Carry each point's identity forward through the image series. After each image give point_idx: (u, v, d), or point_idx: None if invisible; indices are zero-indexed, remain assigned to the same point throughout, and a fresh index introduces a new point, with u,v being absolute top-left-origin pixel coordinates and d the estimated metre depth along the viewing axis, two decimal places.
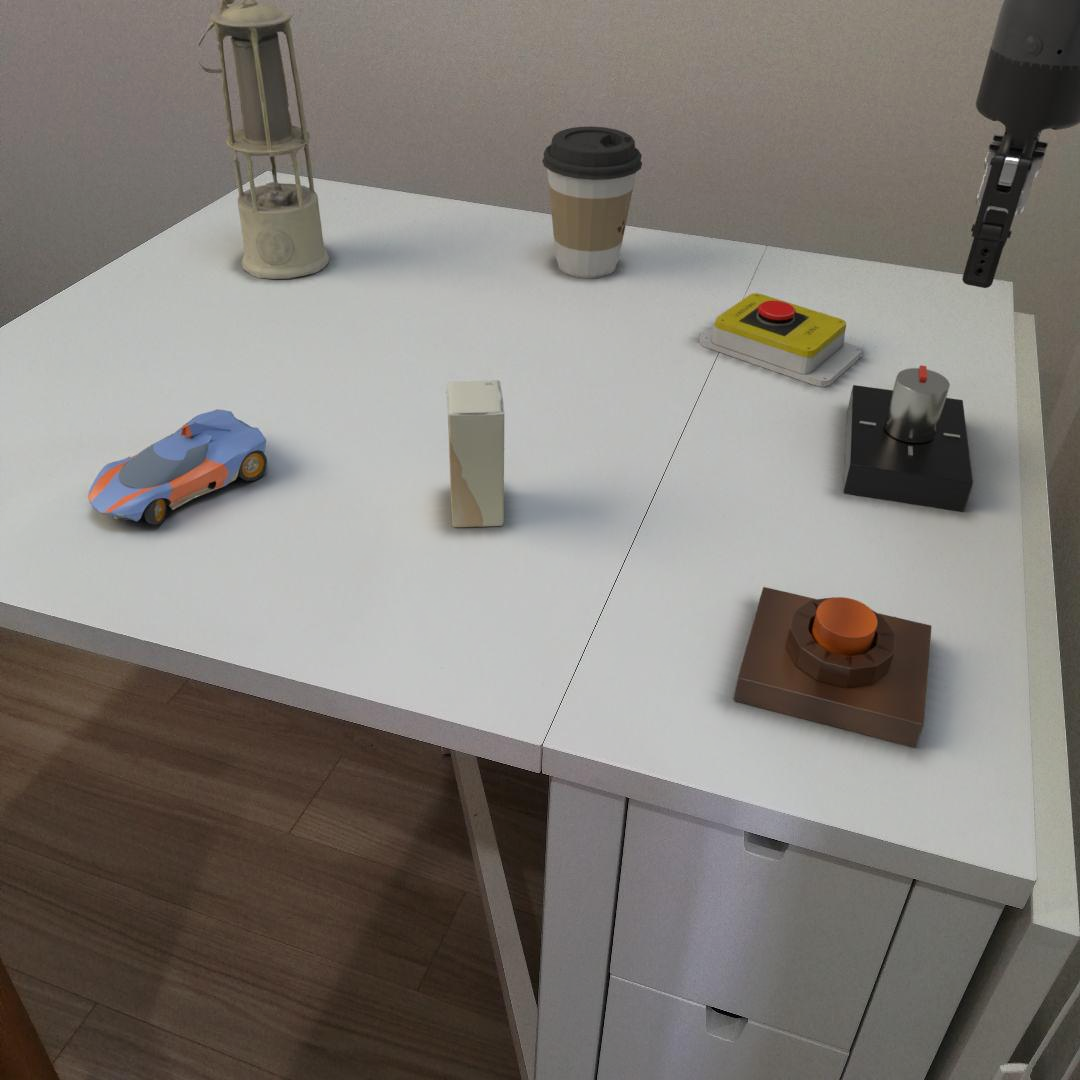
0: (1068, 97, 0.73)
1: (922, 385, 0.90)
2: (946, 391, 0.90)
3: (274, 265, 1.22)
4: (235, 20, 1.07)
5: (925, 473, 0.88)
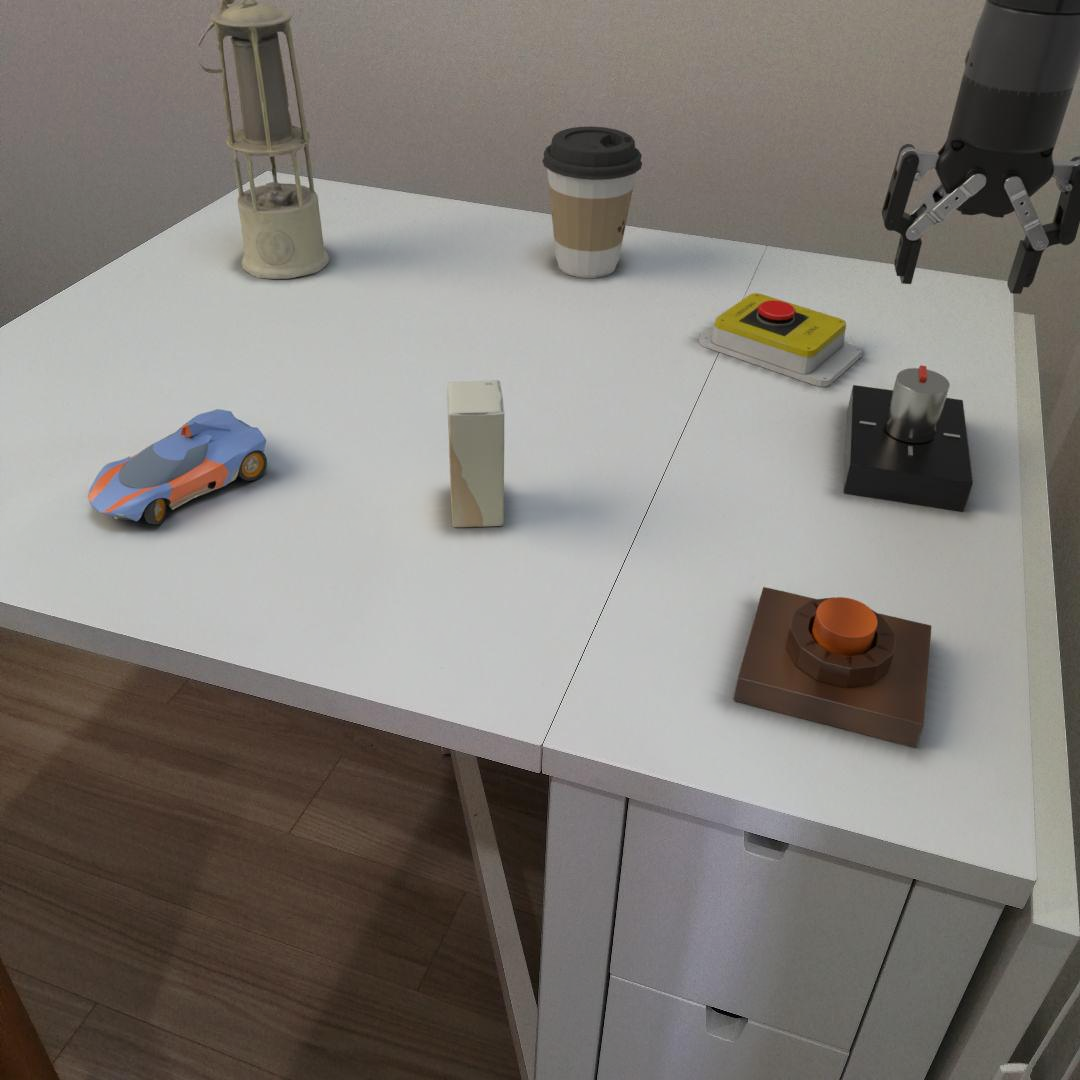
0: (972, 113, 0.75)
1: (922, 385, 0.90)
2: (946, 391, 0.90)
3: (274, 265, 1.22)
4: (236, 20, 1.07)
5: (925, 473, 0.88)
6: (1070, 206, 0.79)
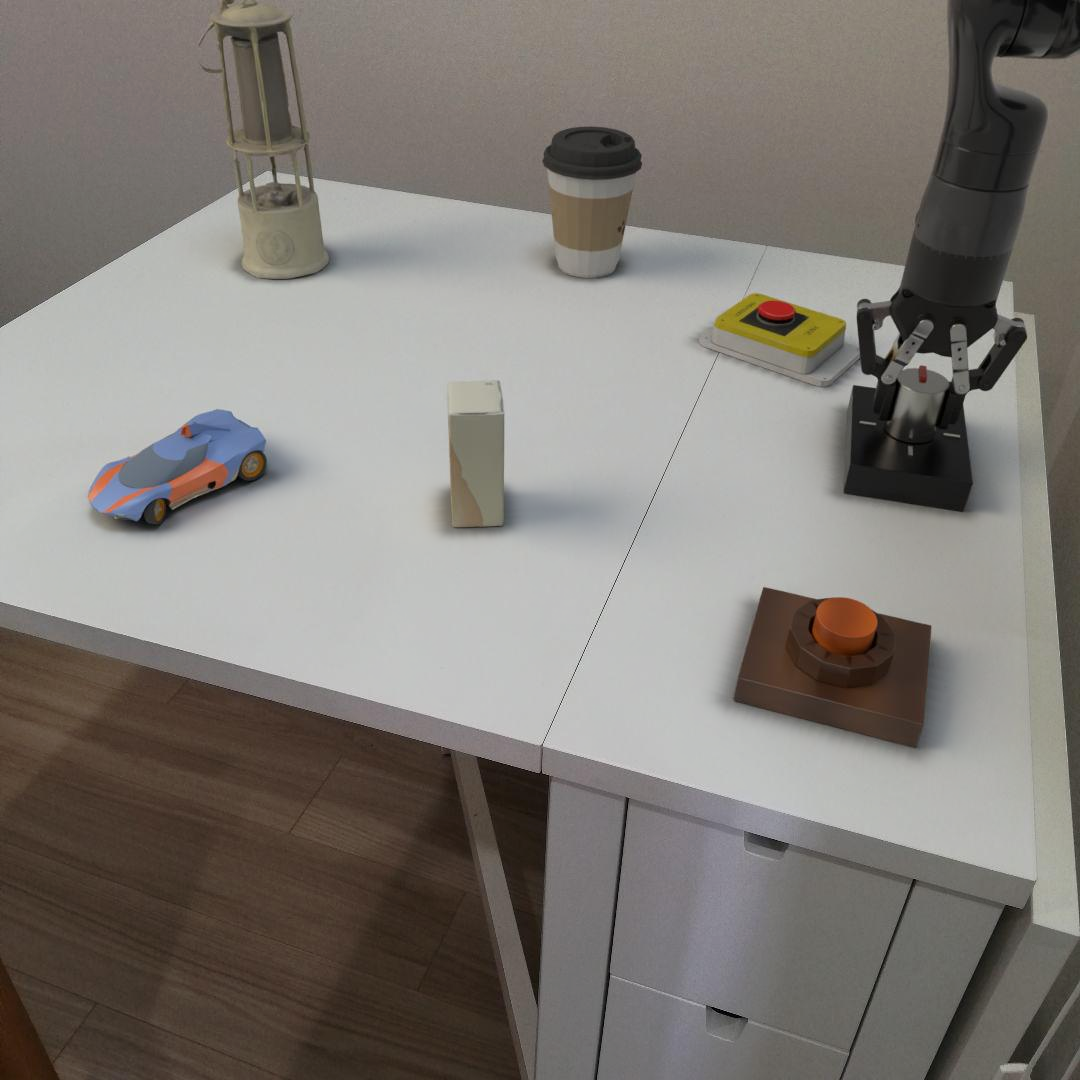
0: (918, 269, 0.83)
1: (922, 385, 0.90)
2: (946, 391, 0.90)
3: (274, 265, 1.22)
4: (236, 20, 1.07)
5: (925, 473, 0.88)
6: (998, 359, 0.87)
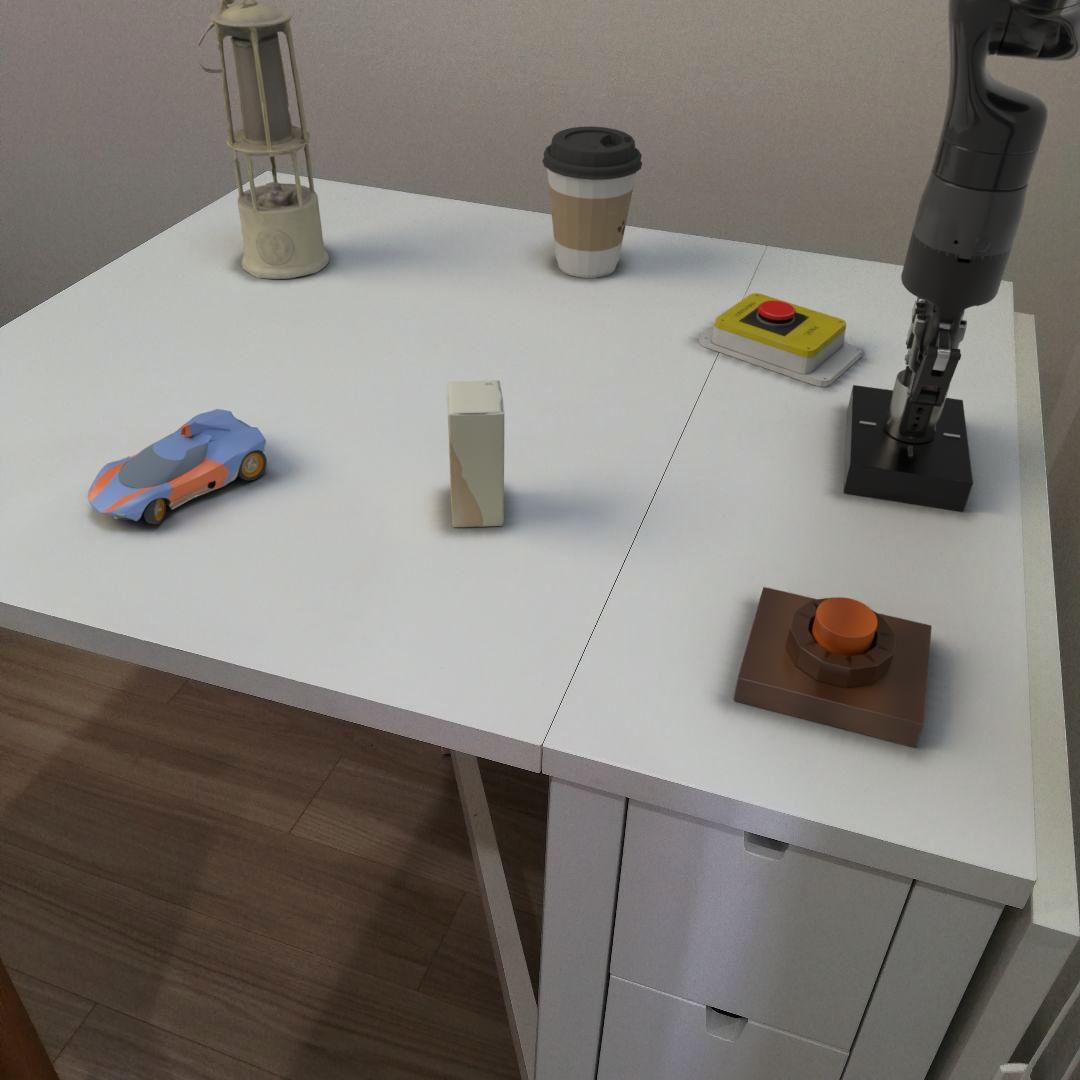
0: None
1: None
2: None
3: (274, 265, 1.22)
4: (236, 20, 1.07)
5: (925, 473, 0.88)
6: (919, 370, 0.85)
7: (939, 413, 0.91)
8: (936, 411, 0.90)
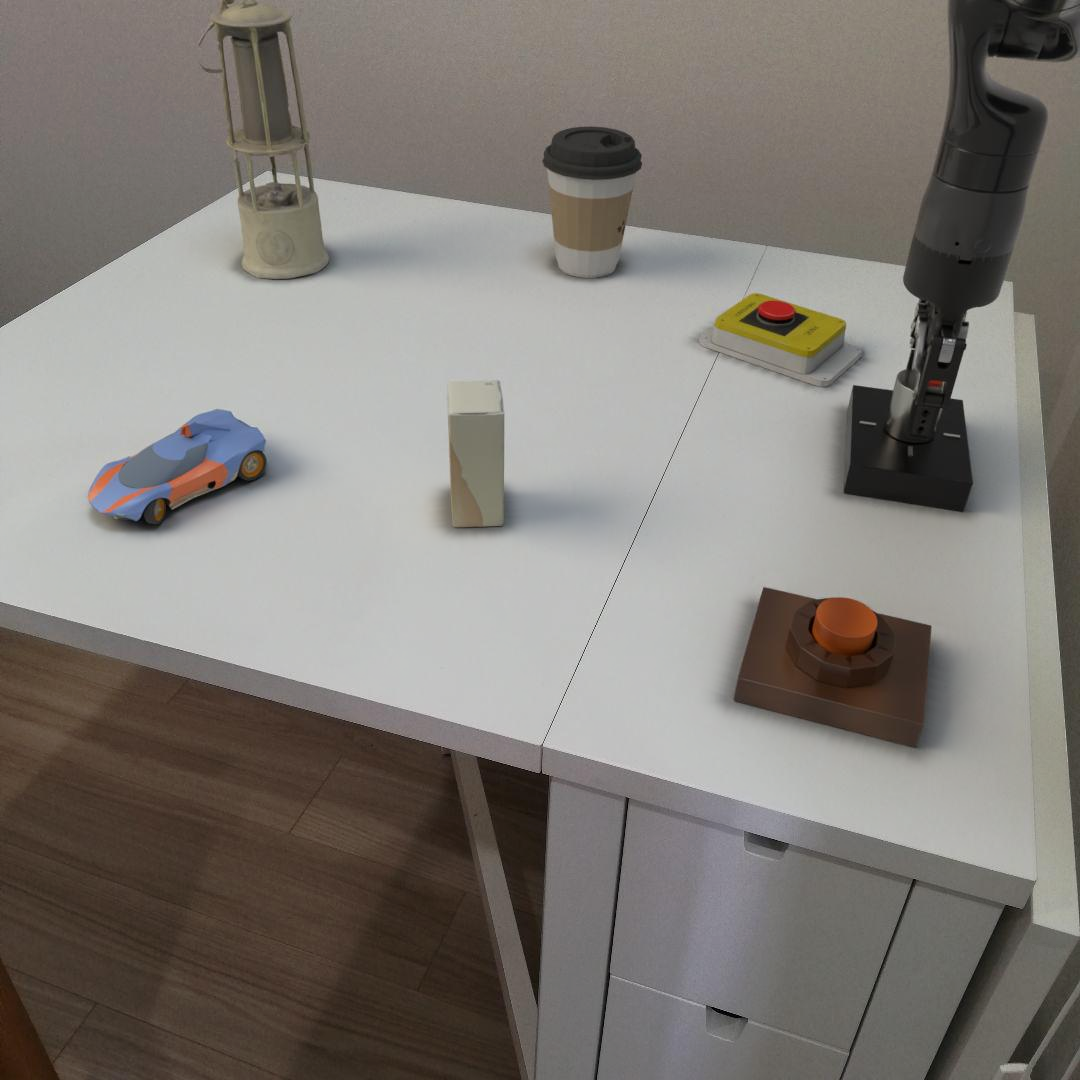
0: None
1: (912, 378, 0.91)
2: (909, 391, 0.90)
3: (274, 265, 1.22)
4: (236, 20, 1.07)
5: (925, 473, 0.88)
6: (924, 368, 0.84)
7: (939, 413, 0.91)
8: None
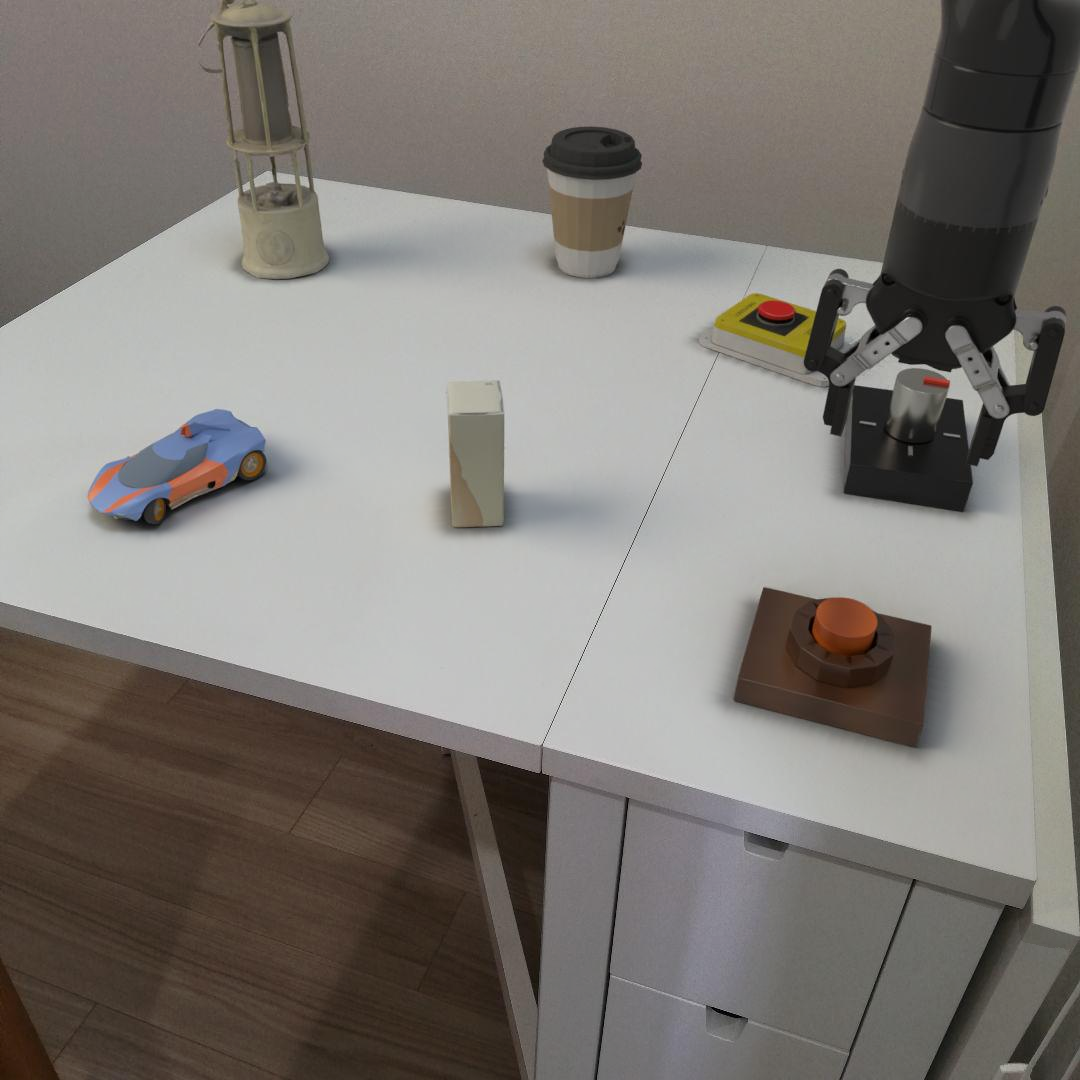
0: (899, 244, 0.59)
1: (912, 378, 0.91)
2: (909, 391, 0.90)
3: (274, 265, 1.22)
4: (236, 20, 1.07)
5: (925, 473, 0.88)
6: (1036, 369, 0.61)
7: (939, 413, 0.91)
8: (936, 411, 0.90)
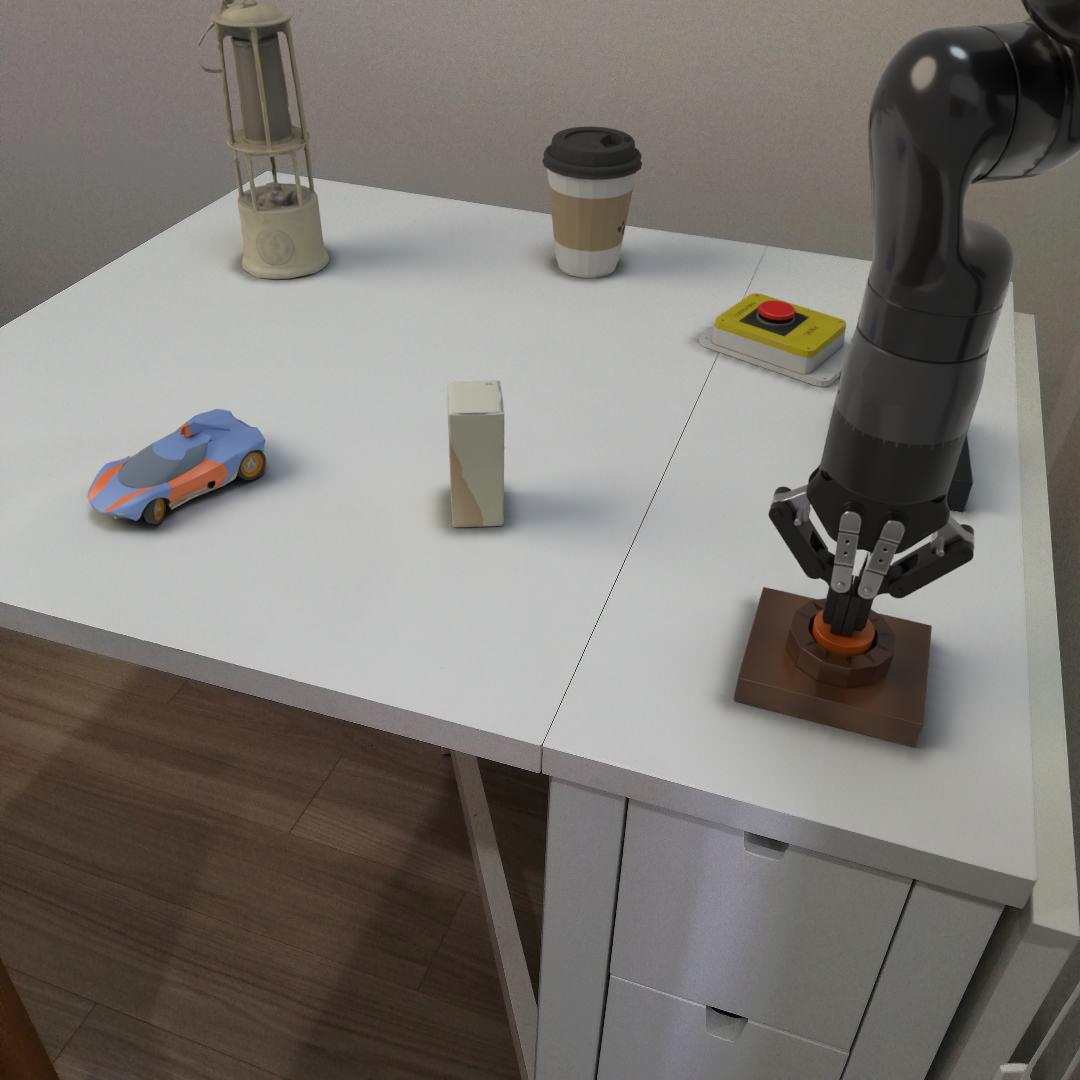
0: (837, 449, 0.61)
1: None
2: None
3: (274, 265, 1.22)
4: (236, 20, 1.07)
5: None
6: (926, 569, 0.65)
7: None
8: None
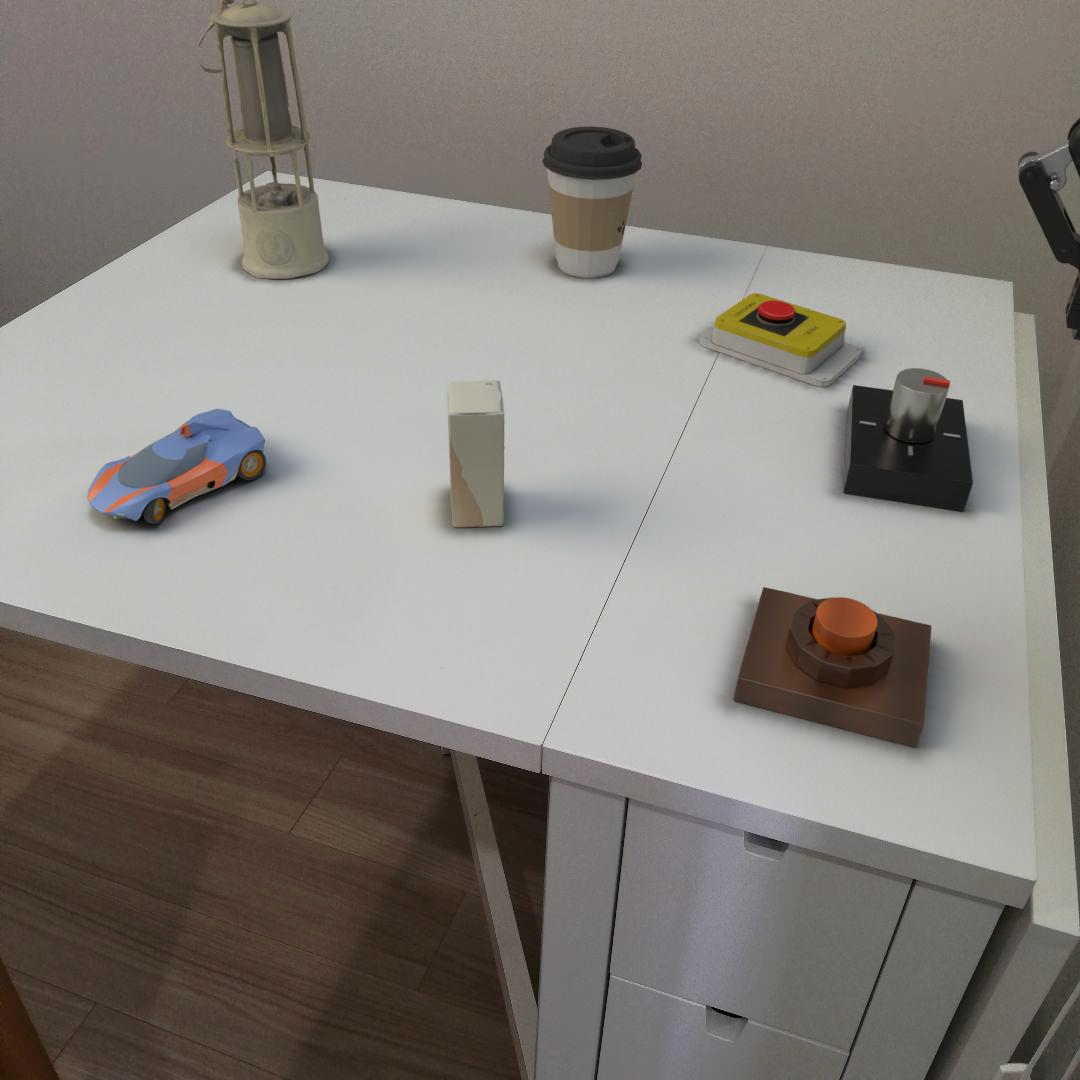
0: None
1: (912, 378, 0.91)
2: (909, 391, 0.90)
3: (274, 265, 1.22)
4: (236, 20, 1.07)
5: (925, 473, 0.88)
6: None
7: (939, 413, 0.91)
8: (936, 411, 0.90)
